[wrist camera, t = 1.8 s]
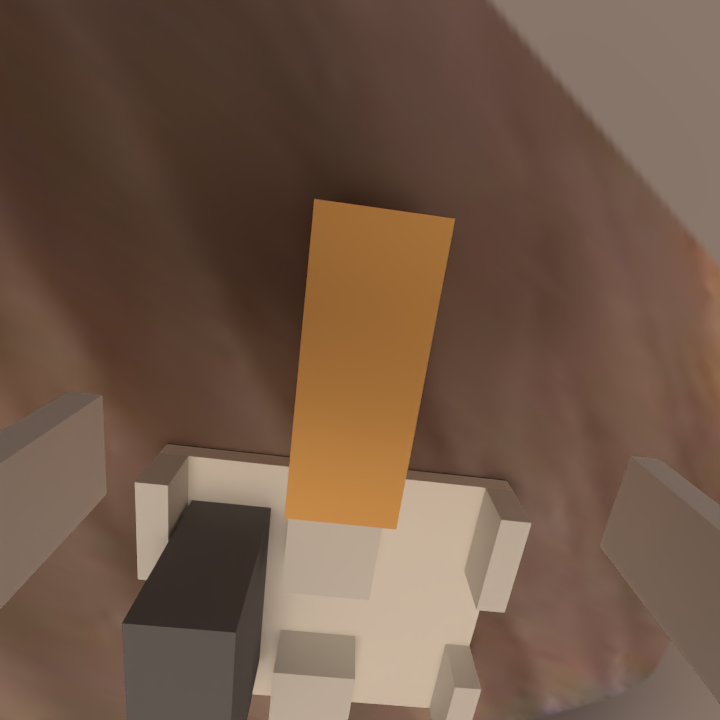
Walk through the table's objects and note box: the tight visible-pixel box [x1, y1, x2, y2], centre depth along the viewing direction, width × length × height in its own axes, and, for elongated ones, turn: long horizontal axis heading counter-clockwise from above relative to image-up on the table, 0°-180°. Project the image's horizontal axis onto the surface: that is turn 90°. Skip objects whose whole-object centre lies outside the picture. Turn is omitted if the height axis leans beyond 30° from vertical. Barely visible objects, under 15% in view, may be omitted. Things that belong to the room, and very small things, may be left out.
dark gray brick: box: [122, 500, 271, 720], centre depth 23 cm, size 12×4×8 cm, turn 173°
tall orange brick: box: [284, 199, 455, 529], centre depth 19 cm, size 12×4×8 cm, turn 172°
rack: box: [135, 444, 532, 720], centre depth 27 cm, size 18×20×4 cm
